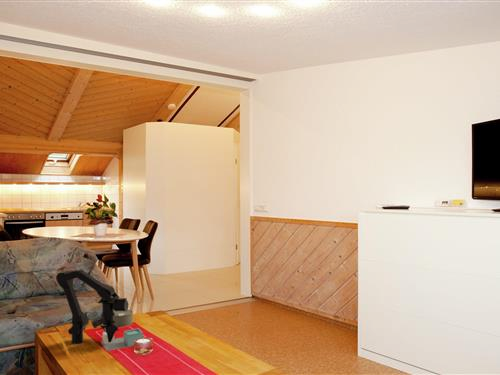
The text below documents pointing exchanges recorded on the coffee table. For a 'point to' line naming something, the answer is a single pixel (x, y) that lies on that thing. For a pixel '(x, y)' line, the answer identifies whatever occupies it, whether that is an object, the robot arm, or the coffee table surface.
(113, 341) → the off-white block
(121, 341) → the plate
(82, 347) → the coffee table surface
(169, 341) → the coffee table surface
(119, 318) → the can
